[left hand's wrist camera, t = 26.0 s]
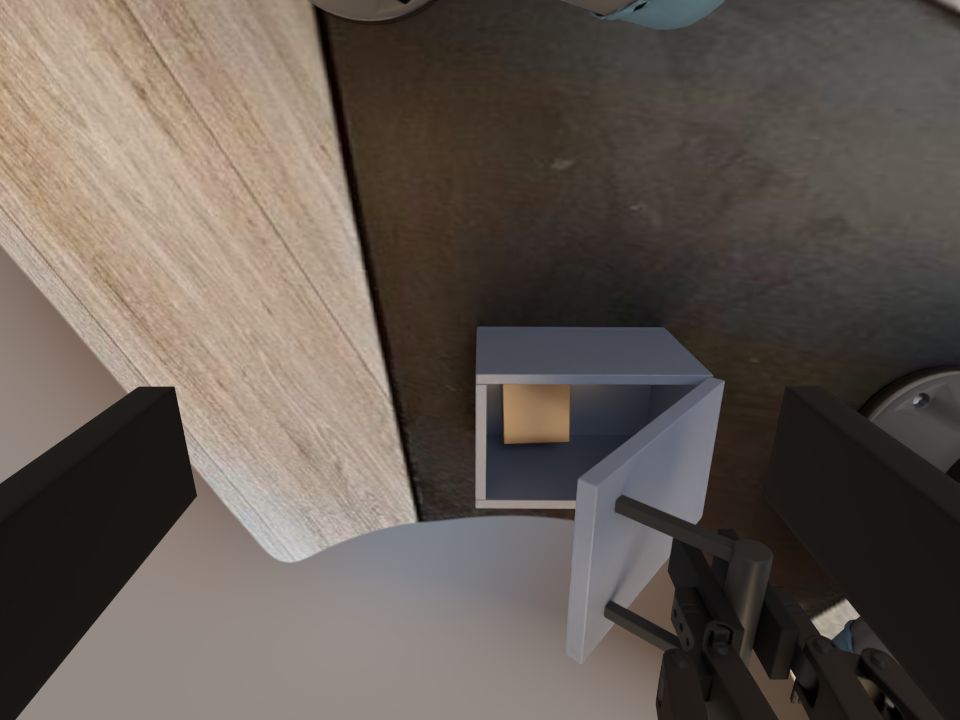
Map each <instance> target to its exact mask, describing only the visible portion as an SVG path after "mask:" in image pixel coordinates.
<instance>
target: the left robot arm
mask: <svg viewBox="0 0 960 720" xmlns="http://www.w3.org/2000/svg"><path fill="white" fill-rule="evenodd" d="M308 1H309V2H311V3H312V4H313V5H315V6H316V7H318V8H319V9H321V10H323V11H324V12H326V13H328V14H330V15H332V16H335V17H337V18H339V19H342V20H345V21H349V22H352V23H358V24H365V25H384V24H390V23H395V22H399V21H402V20H405V19H408V18H410V17H413V16H415V15H417V14H419V13H420V12H422V11H424V10H425V9H427V8H428V7H430V6H431V5H433V4H434V3H435V2H436V1H437V0H308ZM561 1H564V2H567V3H570V4H572V5H575V6H578V7H581V8H584V9H586V10H587V12H588V13H589V14H590V15H592V16H593V17H596V18H598V19H601V20H603V19H608V20H616V19H620V20H623V21H627V22H630V23H634V24H637V25H641V26H644V27H648V28H651V29H655V30H662V31H663V30H670V29H678V28H681V27H686V26H689V25H691V24H693V23H695V22H697V21H698V20H700V19H702V18H703V17H705V16H706V15H708V14H709V13H711V12H712V11H713V10H715V9H716V8H717V7H718V6H720V5H721V4H722V3H723V2H724V1H725V0H561ZM196 497H197V494H196V489H195V484H194V479H193V474H192V470H191V465H190V460H189V455H188V450H187V445H186V440H185V436H184V431H183V426H182V421H181V416H180V411H179V406H178V402H177V397H176V392H175V387H138V388H136V389H135V390H133V391H132V392H130V393H129V394H128V395H126V396H125V397H123V398H122V399H120V400H119V401H118V402H116V403H115V404H113V405H112V406H110V407H109V408H108V409H106V410H105V411H103V412H102V413H101V414H99V415H98V416H96V417H95V418H93V419H92V420H90V421H89V422H88V423H86V424H85V425H83V426H82V427H81V428H79V429H78V430H76V431H75V432H73V433H72V434H71V435H69V436H68V437H66V438H65V439H63V440H62V441H61V442H59V443H58V444H56V445H55V446H54V447H52V448H51V449H49V450H48V451H46V452H45V453H43V454H42V455H41V456H39V457H38V458H36V459H35V460H33V461H32V462H31V463H29V464H28V465H26V466H25V467H23V468H22V469H21V470H19V471H18V472H16V473H15V474H13V475H12V476H11V477H9V478H8V479H6V480H5V481H4V482H2V483H1V484H0V720H15V719H16V718H17V717H18V716H19V715H20V713H21V712H22V711H23V710H24V708H25V707H26V706H27V705H28V703H29V702H30V701H31V700H32V699H33V697H34V696H35V695H36V694H37V692H38V691H39V690H40V689H41V687H42V686H43V685H44V684H45V682H46V681H47V680H48V679H49V678H50V676H51V675H52V674H53V673H54V671H55V670H56V669H57V668H58V667H59V665H60V664H61V663H62V662H63V660H64V659H65V658H66V657H67V655H68V654H69V653H70V652H71V650H72V649H73V648H74V647H75V646H76V644H77V643H78V642H79V641H80V639H81V638H82V637H83V636H84V635H85V633H86V632H87V631H88V630H89V628H90V627H91V626H92V625H93V623H94V622H95V621H96V620H97V618H98V617H99V616H100V615H101V614H102V612H103V611H104V610H105V609H106V607H107V606H108V605H109V604H110V602H111V601H112V600H113V599H114V598H115V596H116V595H117V594H118V593H119V591H120V590H121V589H122V588H123V586H124V585H125V584H126V583H127V582H128V580H129V579H130V578H131V577H132V575H133V574H134V573H135V572H136V570H137V569H138V568H139V567H140V566H141V564H142V563H143V562H144V561H145V559H146V558H147V557H148V556H149V554H150V553H151V552H152V551H153V550H154V548H155V547H156V546H157V545H158V543H159V542H160V541H161V540H162V538H163V537H164V536H165V535H166V534H167V532H168V531H169V530H170V529H171V527H172V526H173V525H174V524H175V522H176V521H177V520H178V519H179V518H180V516H181V515H182V514H183V513H184V511H185V510H186V509H187V508H188V506H189V505H190V504H191V503H192V502H193V500H194V499H195V498H196ZM763 497H764V498H765V499H766V500H767V502H768V503H769V504H770V505H771V506H772V508H773V509H774V510H775V511H776V513H777V514H778V515H779V516H780V518H781V519H782V520H783V521H784V522H785V524H786V525H787V526H788V527H789V529H790V530H791V531H792V532H793V534H794V535H795V536H796V537H797V538H798V540H799V541H800V542H801V543H802V545H803V546H804V547H805V548H806V550H807V551H808V552H809V553H810V554H811V556H812V557H813V558H814V559H815V561H816V562H817V563H818V564H819V566H820V567H821V568H822V569H823V570H824V572H825V573H826V574H827V575H828V577H829V578H830V579H831V580H832V582H833V583H834V584H835V585H836V586H837V588H838V589H839V590H840V591H841V593H842V594H843V595H844V596H845V598H846V599H847V600H848V601H849V603H850V604H851V605H852V606H853V607H854V609H855V610H856V611H857V612H858V614H859V615H860V616H861V617H862V619H863V620H864V621H865V622H866V623H867V625H868V626H869V627H870V628H871V630H872V631H873V632H874V633H875V635H876V636H877V637H878V638H879V639H880V641H881V642H882V643H883V644H884V646H885V647H886V648H887V649H888V651H889V652H890V653H891V654H892V655H893V657H894V658H895V659H896V660H897V662H898V663H899V664H900V665H901V667H902V668H903V669H904V670H905V671H906V673H907V674H908V675H909V676H910V678H911V679H912V680H913V681H914V683H915V684H916V685H917V686H918V687H919V689H920V690H921V691H922V692H923V694H924V695H925V696H926V697H927V699H928V700H929V701H930V702H931V703H932V705H933V706H934V707H935V708H936V710H937V711H938V712H939V713H940V715H941V716H942V717H943V718H944V720H960V484H959V483H958V482H957V481H955V480H954V479H952V478H951V477H949V476H948V475H947V474H945V473H944V472H942V471H941V470H939V469H938V468H937V467H935V466H934V465H932V464H931V463H929V462H928V461H927V460H925V459H924V458H922V457H921V456H919V455H918V454H917V453H915V452H914V451H912V450H911V449H909V448H908V447H907V446H905V445H904V444H902V443H901V442H899V441H898V440H897V439H895V438H894V437H892V436H891V435H889V434H888V433H887V432H885V431H884V430H882V429H881V428H879V427H878V426H877V425H875V424H874V423H872V422H871V421H870V420H868V419H867V418H865V417H864V416H862V415H861V414H860V413H858V412H857V411H855V410H854V409H852V408H851V407H850V406H848V405H847V404H845V403H844V402H842V401H841V400H840V399H838V398H837V397H835V396H834V395H832V394H831V393H830V392H828V391H827V390H825V389H824V388H822V387H785V392H784V397H783V402H782V406H781V411H780V416H779V421H778V426H777V431H776V435H775V440H774V445H773V450H772V455H771V460H770V465H769V469H768V474H767V479H766V484H765V489H764V494H763Z"/></svg>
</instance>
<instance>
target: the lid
mask: <svg viewBox="0 0 960 720" xmlns="http://www.w3.org/2000/svg"><path fill="white" fill-rule="evenodd" d="M724 383H725V382H724V381H723V380H719V379H715V378H711V377H709V378H707V379H706V380H705V381H703V382H702V383H701V384H700V385H698V386H697V387H696V388H694V389H693V390H692V391H690V392H689V393H688V394H687V395H685V396H684V397H683V398H681V399H680V400H679V401H678V402H676V403H675V404H674V405H672V406H671V407H670V408H669V409H667V410H666V411H665V412H663V413H662V414H661V415H660V416H658V417H657V418H656V419H654V420H653V421H652V422H650V423H649V424H648V425H647V426H645V427H644V428H643V429H641V430H640V431H639V432H638V433H636V434H635V435H634V436H632V437H631V438H630V439H629V440H627V441H626V442H625V443H623V444H622V445H621V446H619V447H618V448H617V449H616V450H614V451H613V452H612V453H610V454H609V455H608V456H607V457H605V458H604V459H603V460H601V461H600V462H599V463H598V464H596V465H595V466H594V467H592V468H591V469H590V470H589V471H587V472H586V473H585V474H583V475H582V476H581V477H579V478H578V482H577V495H576V509H575V522H574V535H573V549H572V562H571V575H570V589H569V602H568V615H567V629H566V642H565V654H566V655H568V656H569V657H571V658H572V659H574V660H575V661H577V662H579V663H580V664H582V663H583V662H584V660H585V659H586V658H587V657H588V656H589V654H590V653H591V652H592V651H593V649H594V648H595V647H596V646H597V645H598V643H599V642H600V641H601V640H602V638H603V637H604V636H605V635H606V633H607V632H608V631H609V630H610V629H611V627H612V626H613V625H614V624H615V623H616V624H617V625H619V626H621V627H623V628H624V629H626V630H628V631H630V632H631V633H633V634H635V635H637V636H638V637H640V638H642V639H644V640H645V641H647V642H649V643H651V644H652V645H654V646H656V647H658V648H659V649H661V650H663V651H666V650H669V649H673V648H677V649H681V650H683V647H682V645H681V643H680V640H679V638H678V637H677V636H675V635H674V634H672V633H670V632H668V631H666V630H664V629H663V628H661V627H659V626H657V625H655V624H653V623H652V622H650V621H648V620H646V619H644V618H642V617H641V616H639V615H637V614H635V613H633V612H632V611H630V610H628V609H627V608H628V607H629V605H630V604H631V603H632V602H633V600H634V599H635V598H636V597H637V596H638V594H639V593H640V592H641V591H642V589H643V588H644V587H645V586H646V585H647V583H648V582H649V581H650V580H651V578H652V577H653V576H654V575H655V574H656V572H657V571H658V570H659V569H660V567H661V566H662V565H663V564H664V563H665V561H666V560H667V559H668V558H669V556H670V553H671V547H672V540H673V538H675V539H678V540H680V541H682V542H685V543H687V544H689V545H691V546H694V547H696V548H698V549H700V550H703V551H705V552H707V553H710V554H712V555H714V556H716V557H719V558H721V559H723V560H726V561H728V562H729V568H728V573H727V578H726V583H725V588H724V593H725V596H726V597H727V599H728V600H729V602H730V604H731V606H732V608H733V609H734V611H735V613H736V615H737V617H738V618H739V620H740V622H741V624H742V626H743V627H744V629H745V632H744V637H743V642H742V646H741V651H740V655H739V656H740V657H741V659H742V661H743V662H744V664H745V666H746V667H747V669H748V666H749V662H750V657H751V653H752V649H753V644H754V640H755V636H756V631H757V627H758V622H759V618H760V614H761V609H762V605H763V600H764V596H765V592H766V587H767V583H768V578H769V574H770V570H771V565H772V561H773V554H772V552H771V550H770V549H769V548H768V547H767V546H765V545H764V544H762V543H760V542H758V541H755V540H751V539H740V540H737V541H733V540H731V539H729V538H726V537H724V536H721V535H719V534H716V533H714V532H712V531H709V530H707V529H704V528H702V527H700V526H697V525H696V523H697V522H698V521H699V520H700V519H701V517H702V513H703V507H704V501H705V496H706V490H707V484H708V478H709V472H710V466H711V460H712V454H713V448H714V442H715V436H716V430H717V424H718V418H719V412H720V407H721V401H722V395H723V389H724ZM683 651H684V650H683Z"/></svg>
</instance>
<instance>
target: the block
mask: <svg viewBox="0 0 960 720" xmlns="http://www.w3.org/2000/svg"><path fill="white" fill-rule="evenodd" d="M570 395H571V384H501V409H502V426H503V438H504V444H517V443H547V442H569V441H570Z"/></svg>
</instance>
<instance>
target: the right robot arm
mask: <svg viewBox="0 0 960 720" xmlns="http://www.w3.org/2000/svg"><path fill="white" fill-rule="evenodd" d="M860 414H861V415H862V416H864V417H865V418H867V419H868V420H870V421H871V422H872V423H874V424H875V425H877V426H878V427H879V428H881V429H882V430H884V431H885V432H887V433H888V434H889V435H891V436H892V437H894V438H895V439H897V440H898V441H899V442H901V443H902V444H904V445H905V446H907V447H908V448H909V449H911V450H912V451H914V452H915V453H917V454H918V455H919V456H921V457H922V458H924V459H925V460H927V461H928V462H929V463H931V464H932V465H934V466H935V467H937V468H938V469H939V470H941V471H942V472H944V473H945V474H947V475H948V476H949V477H951V478H952V479H954V480H955V481H957V482H958V483H959V484H960V366H958V365H947V366H937V367H931V368H927V369H923V370H920V371H917V372H914V373H911V374H909V375H907V376H904V377H902V378H900V379H898V380H897V381H895V382H893V383H892V384H890V385H888V386H887V387H886V388H884V389H883V390H881V391H880V392H879V393H878V394H876V395H875V396H874V397H873V398H872V399H871V400H870V401H869V402H868V403H867V404H866V405H865V406H864V408H863V409H862V410H861V411H860ZM718 534H719V535H721V536H724V537H726V538H729V539H731V540H733V541H737V540H740V539H739V537H738V536H737V534H736V533H735V531H734V530H733V529H718ZM728 568H729V562H728V561H726V560H723V559H721V558H719V557H716V556H713V561H712V567H711V568H710V566H709V564H708V563H707V561H706V559H705V557H704V555H703V554H702V552H701V550H700V549H698V548H696V547H694V546H691V545H689V544H687V543H685V542H682V541H680V540H678V539H675V538H673V540H672V547H671V553H670V560H669V566H668V573H669V575H670V577H671V580H672V582H673V584H674V586H675V593H674V600H673V606H672V613H671V621H672V623H673V626H674V628H675V630H676V633H677V635H678V638H679V640H680V643H681V645H682V647H683V650H684V651H683V650H681V649H677V648H673V649H669V650H666V651H665V653H664V654H663V659H662V666H661V671H660V677H659V684H658V690H657V697H656V709H657V716H658V720H778V718H777V716H776V715H775V713H774V711H773V710H772V708H771V706H770V705H769V703H768V702H767V700H766V698H765V697H764V695H763V693H762V692H761V690H760V688H759V687H758V685H757V684H756V682H755V680H754V679H753V677H752V675H751V674H750V672H749V671H748V669H747V667H746V666H745V664H744V662H743V661H742V659H741V657H740V656H739V655H740V651H741V646H742V642H743V637H744V632H745V629H744V627H743V626H742V624H741V622H740V620H739V618H738V617H737V615H736V613H735V611H734V609H733V608H732V606H731V604H730V602H729V600H728V599H727V597H726V596H725V593H724V588H725V583H726V578H727V573H728ZM753 649H754V651H755V653H756V655H757V657H758V658H759V660H760V662H761V664H762V666H763V668H764V669H765V671H766V673H767V675H768V677H769V678H770V679H788V676H789V673H790V669H791V670H792V672H793V674H794V675H795V677H796V679H795V683H794V686H793V690H792V694H791V697H790V699H791V703H795V699H796V695H798V697H799V699H798V704H802V705H803V707H804V709H805V711H806V713H807V715H808V717H809V719H810V720H944V718H943V717H942V716H941V715H940V713H939V712H938V711H937V710H936V708H935V707H934V706H933V705H932V703H931V702H930V701H929V700H928V699H927V697H926V696H925V695H924V694H923V692H922V691H921V690H920V689H919V687H918V686H917V685H916V684H915V683H914V681H913V680H912V679H911V678H910V676H909V675H908V674H907V673H906V671H905V670H904V669H903V668H902V667H901V665H900V664H899V663H898V662H897V660H896V659H895V658H894V657H893V655H892V654H891V653H890V652H889V651H888V649H887V648H886V647H885V646H884V644H883V643H882V642H881V641H880V639H879V638H878V637H877V636H876V635H875V633H874V632H873V631H872V630H871V628H870V627H869V626H868V625H867V623H866V622H865V621H864V620H863V619H862V617H861V616H860V617H859V618H858V619H856V620H850V621H848V622H847V623H846V624H845V627H844V630H842V631H841V632H840V633H839V634H838V635H837V636H836V637H835V638H833V639H832V640H830V639H828V638H826V637H824V636H821V634H820V633H819V632H818V630H817V629H816V627H815V626H814V625H813V623H812V622H811V620H810V619H809V617H808V616H807V615H806V613H805V612H804V610H803V609H802V607H801V606H800V605H799V603H798V602H797V600H796V599H795V598H794V596H793V595H792V594H791V593H790V592H789V591H787V590H786V589H785V588H784V587H772V586H771V585H770V583H769V582H768V583H767V587H766V592H765V596H764V600H763V605H762V609H761V614H760V618H759V622H758V627H757V631H756V636H755V640H754V644H753ZM708 718H709V719H708Z"/></svg>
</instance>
